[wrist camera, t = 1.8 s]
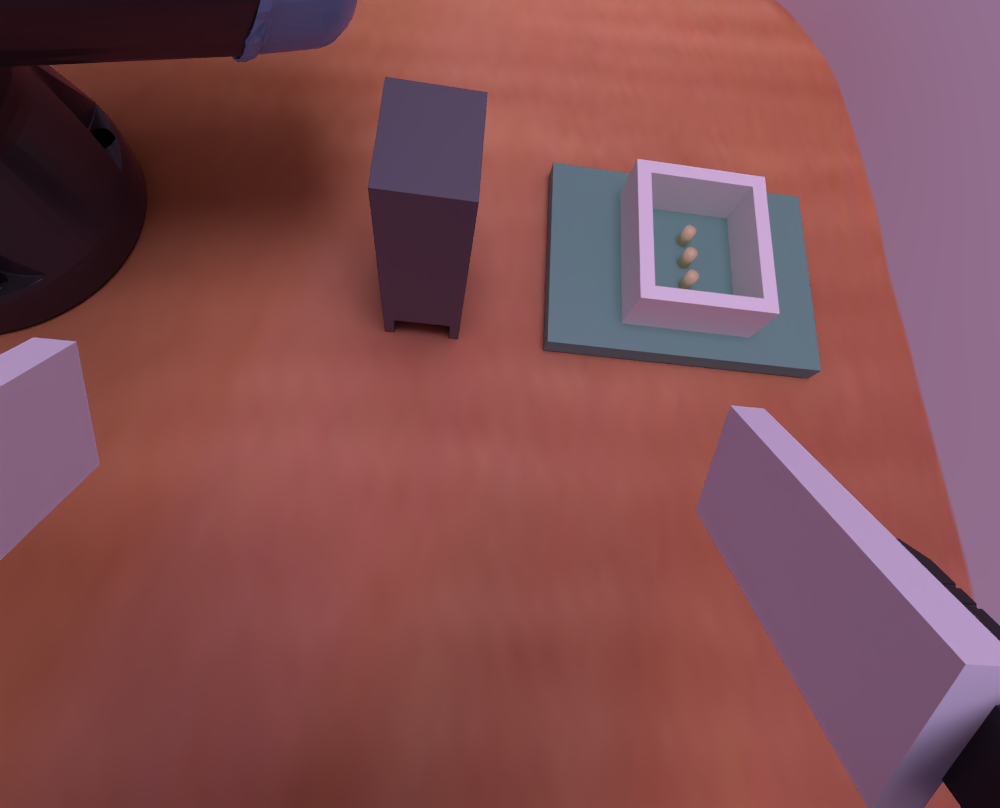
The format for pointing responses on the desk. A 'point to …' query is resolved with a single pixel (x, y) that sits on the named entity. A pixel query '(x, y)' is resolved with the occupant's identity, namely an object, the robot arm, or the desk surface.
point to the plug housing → (425, 199)
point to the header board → (678, 269)
